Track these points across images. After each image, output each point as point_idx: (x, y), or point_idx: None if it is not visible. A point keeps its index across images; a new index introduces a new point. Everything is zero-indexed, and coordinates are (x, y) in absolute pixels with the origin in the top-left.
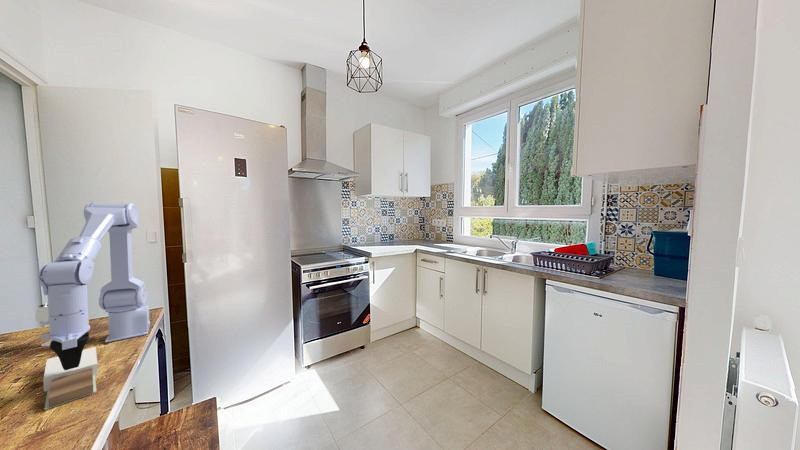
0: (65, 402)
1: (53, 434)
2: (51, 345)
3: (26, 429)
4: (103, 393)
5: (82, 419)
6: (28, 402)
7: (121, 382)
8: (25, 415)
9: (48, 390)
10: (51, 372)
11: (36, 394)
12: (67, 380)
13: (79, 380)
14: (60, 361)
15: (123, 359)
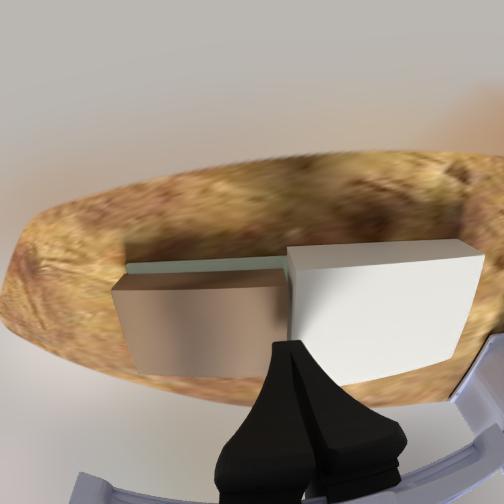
0: None
1: (21, 285)
2: (241, 474)
3: (56, 239)
4: None
5: (45, 324)
6: (231, 215)
7: (175, 392)
8: (131, 223)
9: (273, 261)
10: (346, 287)
11: (285, 228)
12: (229, 328)
13: (196, 354)
14: (267, 375)
15: None
